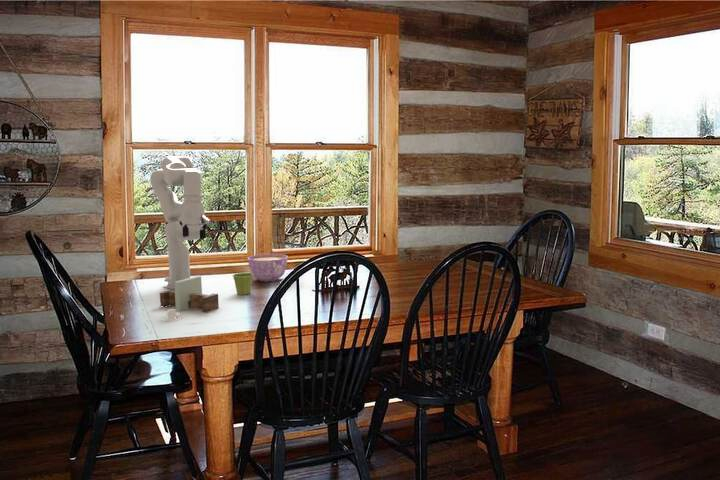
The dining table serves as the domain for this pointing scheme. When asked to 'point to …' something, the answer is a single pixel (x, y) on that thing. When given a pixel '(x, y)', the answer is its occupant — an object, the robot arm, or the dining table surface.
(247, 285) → the plant pot
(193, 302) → the walnut slot rail
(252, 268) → the bowl of food
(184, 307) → the sage slot plate
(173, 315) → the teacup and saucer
